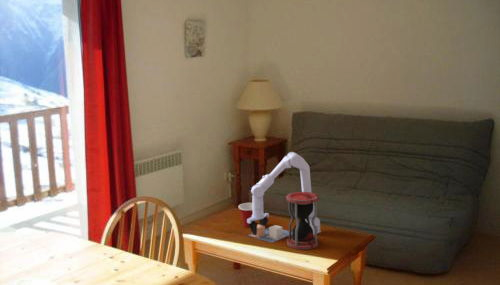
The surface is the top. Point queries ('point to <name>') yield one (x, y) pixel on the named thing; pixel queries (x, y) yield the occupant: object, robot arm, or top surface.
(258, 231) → the terracotta block
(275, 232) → the offwhite block
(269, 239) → the mat
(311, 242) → the hourglass
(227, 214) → the top surface
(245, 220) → the plastic cup
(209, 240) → the top surface
